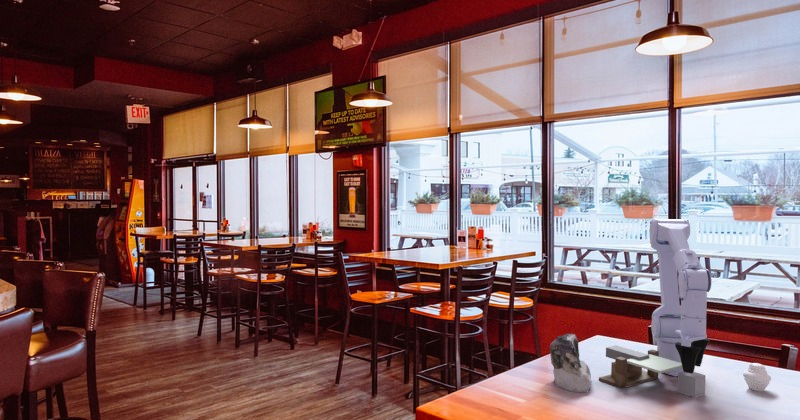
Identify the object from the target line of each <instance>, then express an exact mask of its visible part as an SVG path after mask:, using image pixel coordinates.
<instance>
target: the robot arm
mask: <svg viewBox="0 0 800 420" xmlns="http://www.w3.org/2000/svg"><path fill="white" fill-rule="evenodd" d="M690 235H691V223H690V222H689V221H688V219H686V218H684V219H675V218H674V219H671V218H670V219H669V218H668V219H665V218H664V219H663V218H662V219H661V218H653V219H651V221H650V223H649V242H650V247H651V248H652V249H653V250H655V251H656V254H657V255H656V256H657V261H658V272H659V273H658V274H659V288H660V289H659V290H660V301H661V305H660V306H659V307H657V308H656V309H655V310H653V312H652V314H651V325H650V326H651V328H650V329H651V334H652V336H653V337H654V338H655V339H657V345H656V349H657V350H656V351H659V357H662V358H665V359H669V360H672V361H676V362H679V363H682V368H678V369H674V370H671V371H667V372H663V373H662V374H666V375H669V376H673V377H678V373H680V372H686V373H691V374H693V372H695V367H699V368H700V367H701V365H702V363H703V358H704V354H705V351H706V348H707V347H708V345H709V343H710V341H711V339H710V338H707V337H708V335H707V311H708V310H707V306H708V305H707V303H708V302H707V301H708V293H709V292H710V291H711V289H712V276H711V275H712V274H711V272H710V270H709V269H708V268H706V267H703V266H702V264H701V261H700V259H699V257H698V255H697V253H696V252H695V251H694V250H692V249H690V246H689V242H688V241H689V240H688V239H689V237H690ZM680 297H681V298H680ZM680 302H681V303H680Z"/></svg>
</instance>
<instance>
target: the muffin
mask: <svg viewBox="0 0 800 420" xmlns="http://www.w3.org/2000/svg"><path fill="white" fill-rule="evenodd" d="M742 376H743V378H744V381H745V382H746V385H747V387H748V388H749V390H752V391H754V392H764V391H765V390H766V388H767V387H768V386H769V385H770V382H771V380H772V377H771V375H770V374H769V373H768V371H767V370H766V367H765V366H764V365H763V364H761V363H758V362H753V363H750V364H749V365H748V367H747V368H746V369H745V370H743V373H742Z"/></svg>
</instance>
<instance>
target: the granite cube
mask: <svg viewBox="0 0 800 420" xmlns="http://www.w3.org/2000/svg"><path fill="white" fill-rule="evenodd" d="M706 375H707V374H703V373H700V372H696V371H694V372H693V374H691V373H686V372H680V373H678V376H677V393H680V394H683V395H686V396H688V397H692V398H694V399H695V398H698V397H701V396H704V395H706Z"/></svg>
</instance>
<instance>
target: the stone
mask: <svg viewBox="0 0 800 420" xmlns="http://www.w3.org/2000/svg"><path fill="white" fill-rule="evenodd" d="M549 350H550V353H549V354H550V363H551V365H552V367H553V378H554V383H555V385H557V386H558V387H560V388H561V389H564V390H565V391H568V392H575V393H588V392H589V390H590V388H591V387H592V385H593V380H592V373H591V369H590V367H589V365H588V364H587V363H586V362H585V361H584V360H581V359H580V349H579V339H578V337H577V336H576V334H575V333H569V332H568V333H566V334H563V335H558V336H557V337H556V338H555V339H554V340H553V341H552V342H551V343H550V345H549Z"/></svg>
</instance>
